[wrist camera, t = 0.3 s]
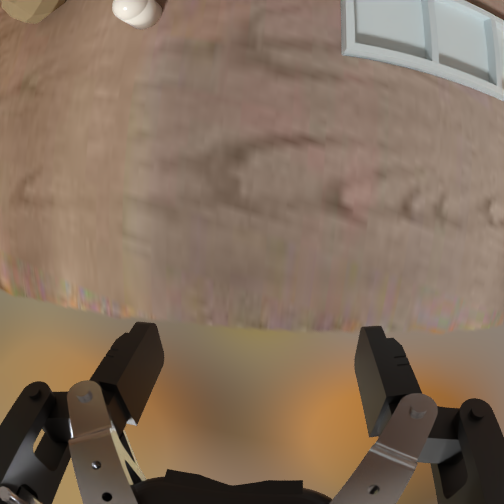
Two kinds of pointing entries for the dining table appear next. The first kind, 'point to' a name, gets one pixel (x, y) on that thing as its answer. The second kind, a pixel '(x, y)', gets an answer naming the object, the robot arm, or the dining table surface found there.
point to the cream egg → (137, 12)
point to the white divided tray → (429, 39)
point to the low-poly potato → (30, 9)
